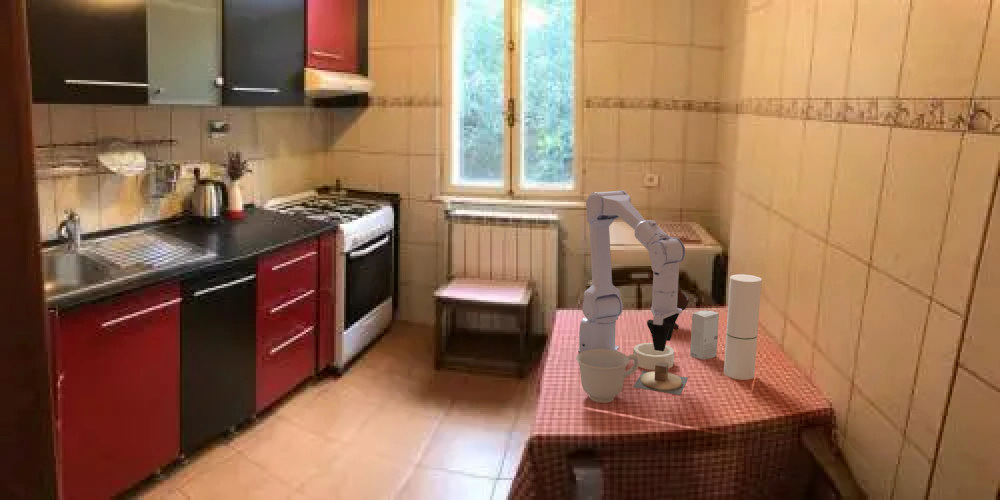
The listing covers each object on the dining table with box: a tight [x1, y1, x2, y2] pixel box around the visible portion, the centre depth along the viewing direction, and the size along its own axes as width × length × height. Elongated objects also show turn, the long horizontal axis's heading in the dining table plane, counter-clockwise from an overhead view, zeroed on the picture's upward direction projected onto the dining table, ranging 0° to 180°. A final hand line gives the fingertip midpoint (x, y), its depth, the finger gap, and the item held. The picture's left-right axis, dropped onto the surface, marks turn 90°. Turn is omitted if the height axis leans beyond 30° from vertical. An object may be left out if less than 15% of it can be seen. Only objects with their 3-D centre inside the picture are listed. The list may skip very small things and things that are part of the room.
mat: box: [632, 370, 689, 396], centre depth 160 cm, size 11×11×1 cm
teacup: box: [575, 349, 639, 404], centre depth 152 cm, size 12×15×10 cm
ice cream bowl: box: [673, 283, 690, 331], centre depth 201 cm, size 11×11×15 cm
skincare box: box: [689, 309, 720, 360], centre depth 177 cm, size 6×4×12 cm
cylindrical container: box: [723, 273, 763, 381], centre depth 163 cm, size 7×7×25 cm
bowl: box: [632, 342, 675, 371], centre depth 173 cm, size 10×10×4 cm
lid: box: [641, 362, 682, 390], centre depth 160 cm, size 10×10×5 cm
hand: (662, 345), depth 158 cm, fingers open, 7 cm apart
